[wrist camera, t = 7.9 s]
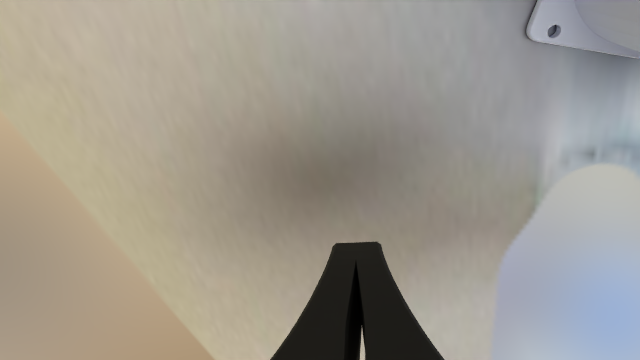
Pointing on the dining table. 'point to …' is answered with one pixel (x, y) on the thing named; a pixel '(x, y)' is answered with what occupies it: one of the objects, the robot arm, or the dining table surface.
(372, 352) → the robot arm
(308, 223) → the dining table surface
